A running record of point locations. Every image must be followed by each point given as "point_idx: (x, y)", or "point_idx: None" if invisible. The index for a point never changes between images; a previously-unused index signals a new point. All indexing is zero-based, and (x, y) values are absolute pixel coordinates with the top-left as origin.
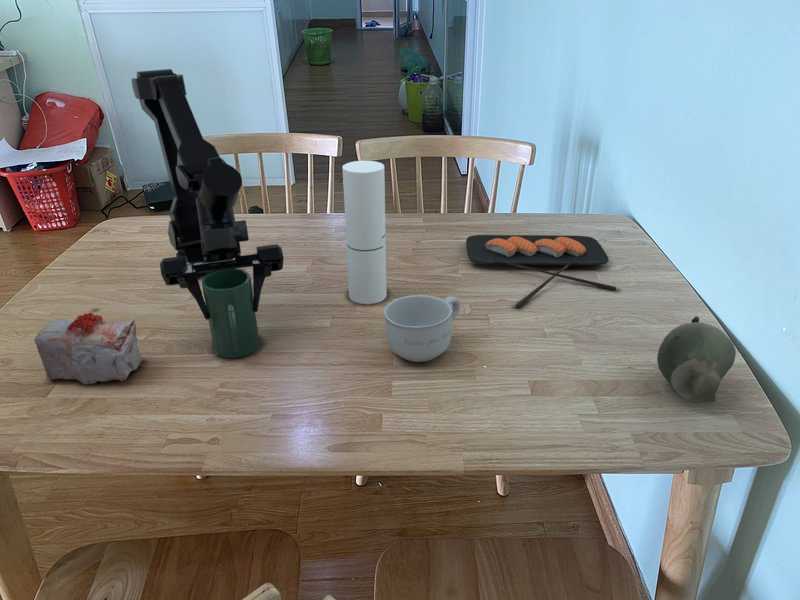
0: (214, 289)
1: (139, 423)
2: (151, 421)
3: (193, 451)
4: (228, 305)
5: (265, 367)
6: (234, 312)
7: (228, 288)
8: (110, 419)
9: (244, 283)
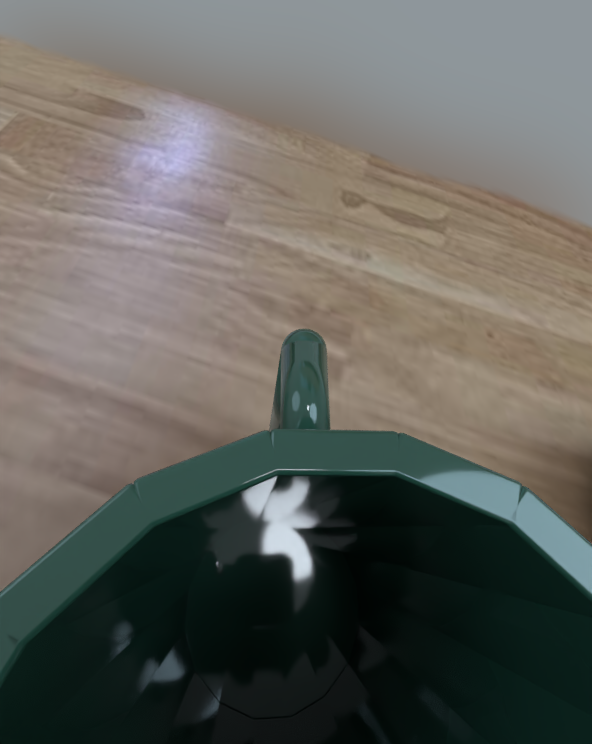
0: (512, 494)
1: (515, 295)
2: (491, 293)
3: (389, 190)
4: (321, 398)
5: (194, 415)
6: (280, 357)
7: (325, 454)
8: (585, 329)
9: (56, 554)
